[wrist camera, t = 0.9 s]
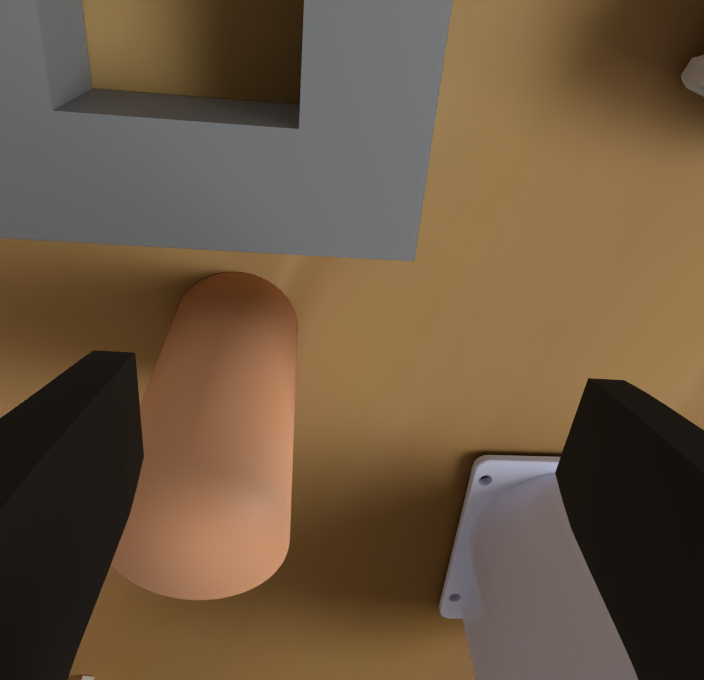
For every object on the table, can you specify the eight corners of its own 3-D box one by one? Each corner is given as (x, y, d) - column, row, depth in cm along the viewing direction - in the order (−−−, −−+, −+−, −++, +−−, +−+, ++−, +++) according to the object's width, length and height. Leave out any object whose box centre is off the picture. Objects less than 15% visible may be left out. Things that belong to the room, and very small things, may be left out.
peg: (295, 378, 22) (287, 600, 14) (179, 374, 22) (107, 599, 14) (300, 275, 20) (293, 469, 12) (172, 268, 20) (83, 464, 12)
